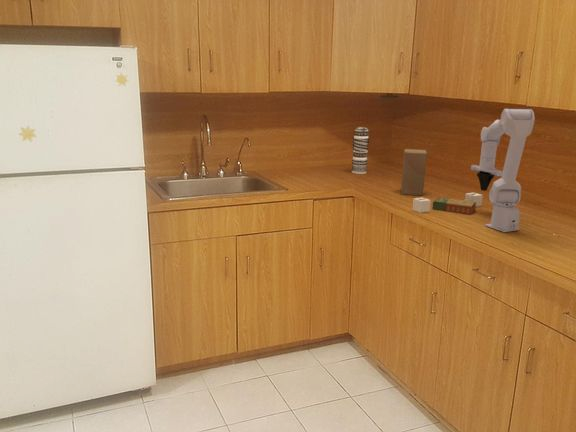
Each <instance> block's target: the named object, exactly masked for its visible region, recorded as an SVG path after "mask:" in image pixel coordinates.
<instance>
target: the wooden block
mask: <svg viewBox="0 0 576 432" xmlns="http://www.w3.org/2000/svg"><path fill="white" fill-rule="evenodd" d="M403 150H404V151H403V152H404V153H403V163H402V176H401V186H400V187H401V189H400V192H401V193H400V194H401V195H405V194H406V195H407V196H408V195H409V196H424V188H425V180H426V179H425V177H426V167H427V157H428V156H427V155H428V153H427V150H425V149H410V148H405V149H403Z"/></svg>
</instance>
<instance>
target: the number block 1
mask: <svg viewBox="0 0 576 432" xmlns="http://www.w3.org/2000/svg"><path fill="white" fill-rule="evenodd" d="M431 203H432V200H431V199H428V198H425V197H415V198H413V199H412V211H414V212H417V213H419V214H422V213H430V211H431Z"/></svg>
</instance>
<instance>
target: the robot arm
mask: <svg viewBox="0 0 576 432" xmlns="http://www.w3.org/2000/svg"><path fill="white" fill-rule="evenodd" d="M535 119H536V118H535V112H534V110H533V109H531V108H529V109H525V108H524V109H523V108H504V109H503V111H501V114H500V119H495V120H494V121H493V123H491V124H490V125H489V126H488V127H487V126H483V127H482V129H481V131H480V141H481V149H480V159H479V165H477V164H472V165H471V167H470V170H471V171H476V172H477V173H476V176H477V178H478V182H479V186H480V191H481V192H482V191H483V192H485V191H486V192H487V191H488V188H489V186H490V184H491V182H492V180H493V179H494V178H495V176H496V177H500V178H498V179H497V180H495V181H493V183H492V186H491V188H490V190H489V193H488V197H489V201H490V203H491V204H492V210H491V211H492V212H491V219H490V223H486V224H485V227H488V228H491V229H494V230H497V231H500V232H503V233H509V232H515V231H519V230H520V228H519V225H520V218H521V212H520V210H519V209H518V208H517V207H516V206H517V205H518V204H519V202H520V201H521V199H522V198H521V197H522V185H521V184H520V183H519V182H518V181H517V180H516V179H517V176H518V175H517V174H518V172H519V168H520V164H521V160H522V157H523V152H524V148H525V145H526V141H527V137H529V136H530V135H531V134H532V131H533V128H534V124H535V121H536V120H535ZM504 134H505V135H507V136H508V137H510V139H509V142H508V147H507V151H506V156H505V160H504V165H503V168H502V170H500V169H497V168H496V167H495V165H496V157H497V148H498V147H499V144H500V141H501V138H502V136H503V135H504Z"/></svg>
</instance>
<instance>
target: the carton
mask: <svg viewBox="0 0 576 432" xmlns="http://www.w3.org/2000/svg"><path fill="white" fill-rule="evenodd" d="M476 208H477V207H476V202H472V201H465V199H456V198H448V197H447V198H446V197H439V196H438V197H437V198H435V199H434V200H433V201H432V209H431V210H434V211H435V210H436V211H441V210H442V211H443V212H449V213H456V214H463V215H470V216H472V214H473V213H474V212H475V211H476Z"/></svg>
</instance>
